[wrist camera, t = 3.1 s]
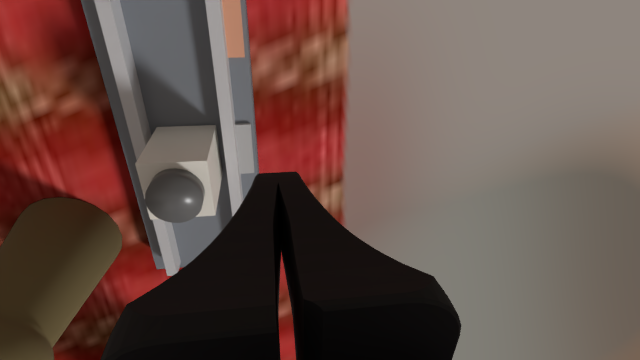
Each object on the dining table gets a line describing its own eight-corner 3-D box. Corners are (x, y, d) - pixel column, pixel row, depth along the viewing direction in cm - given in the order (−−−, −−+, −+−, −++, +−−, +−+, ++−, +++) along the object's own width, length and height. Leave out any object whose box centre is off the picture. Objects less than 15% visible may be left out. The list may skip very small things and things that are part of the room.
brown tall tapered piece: (-6, 210, 22) (-193, 393, 13) (93, 187, 23) (-24, 352, 13) (52, 279, 26) (-66, 465, 16) (138, 258, 26) (69, 432, 16)
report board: (264, 245, 27) (264, 282, 24) (161, 253, 26) (149, 292, 23) (242, -52, 17) (238, -52, 14) (80, -55, 16) (40, -57, 14)
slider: (222, 173, 21) (213, 225, 17) (167, 176, 21) (145, 230, 17) (215, 124, 20) (204, 169, 16) (156, 126, 20) (129, 173, 15)
